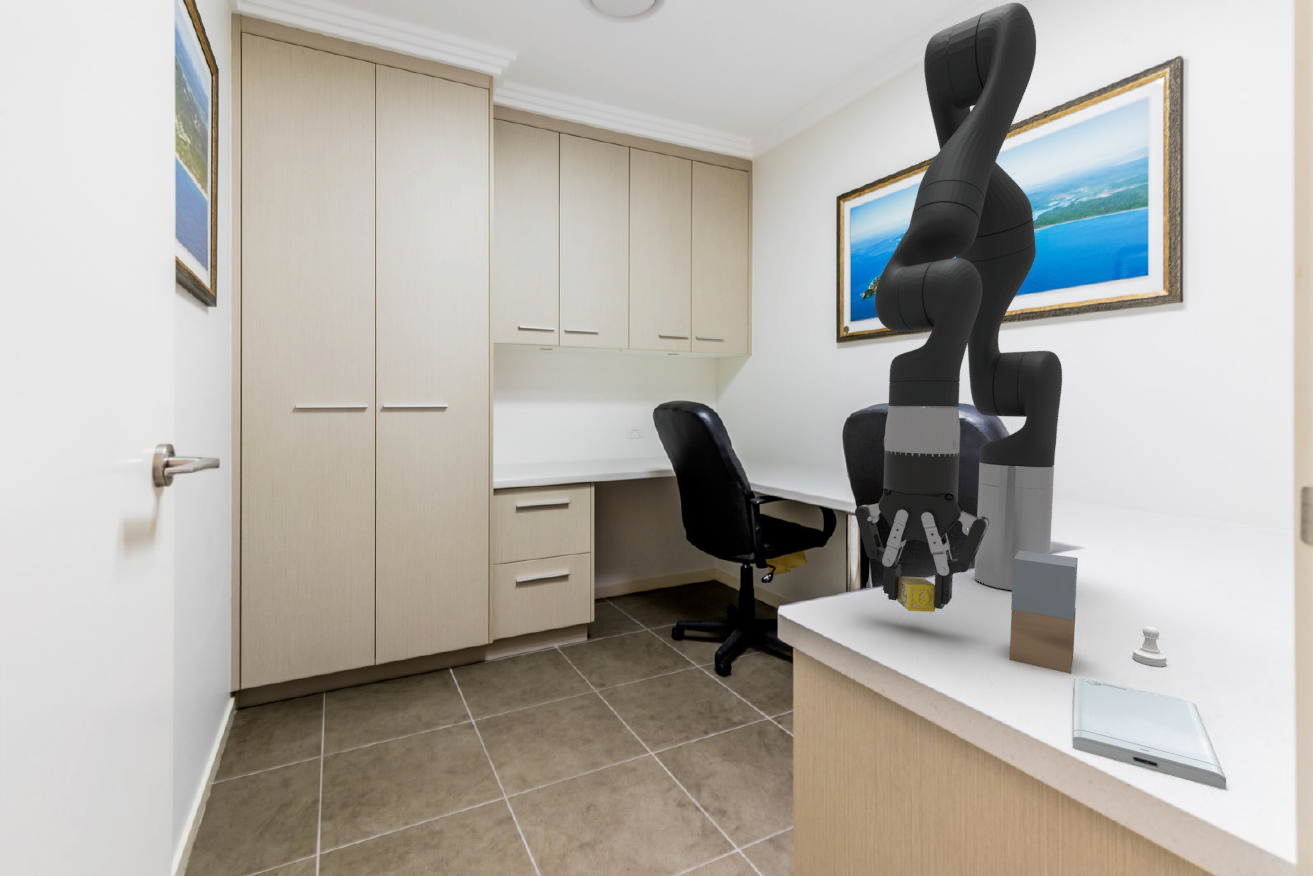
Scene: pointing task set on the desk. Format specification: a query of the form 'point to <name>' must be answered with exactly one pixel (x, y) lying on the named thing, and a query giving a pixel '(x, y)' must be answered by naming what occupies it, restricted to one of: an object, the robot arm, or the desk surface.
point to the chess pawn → (1149, 649)
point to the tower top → (1044, 584)
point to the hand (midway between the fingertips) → (916, 601)
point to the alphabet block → (916, 594)
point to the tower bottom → (1042, 640)
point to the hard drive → (1144, 731)
